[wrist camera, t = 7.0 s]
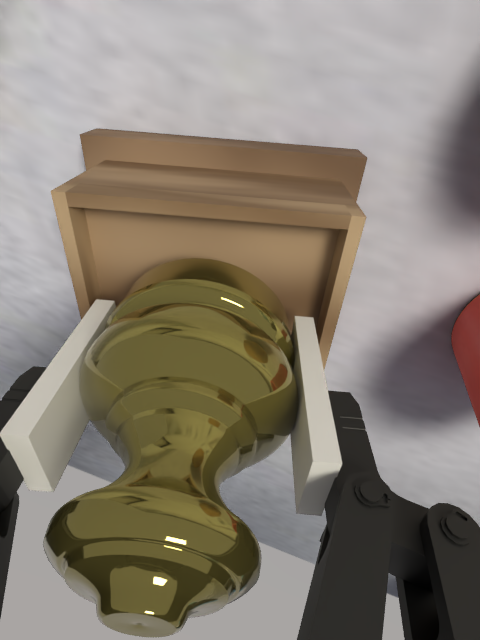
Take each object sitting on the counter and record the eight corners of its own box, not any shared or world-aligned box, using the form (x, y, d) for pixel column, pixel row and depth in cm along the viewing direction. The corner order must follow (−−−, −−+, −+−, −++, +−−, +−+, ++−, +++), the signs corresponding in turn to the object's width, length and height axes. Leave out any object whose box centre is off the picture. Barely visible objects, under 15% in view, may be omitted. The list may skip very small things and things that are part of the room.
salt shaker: (203, 411, 18) (153, 682, 10) (85, 318, 15) (-118, 599, 7) (325, 345, 15) (392, 652, 7) (210, 213, 12) (103, 487, 4)
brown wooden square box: (310, 350, 25) (324, 435, 19) (127, 334, 25) (86, 415, 19) (357, 149, 18) (404, 189, 12) (97, 128, 18) (13, 157, 12)
